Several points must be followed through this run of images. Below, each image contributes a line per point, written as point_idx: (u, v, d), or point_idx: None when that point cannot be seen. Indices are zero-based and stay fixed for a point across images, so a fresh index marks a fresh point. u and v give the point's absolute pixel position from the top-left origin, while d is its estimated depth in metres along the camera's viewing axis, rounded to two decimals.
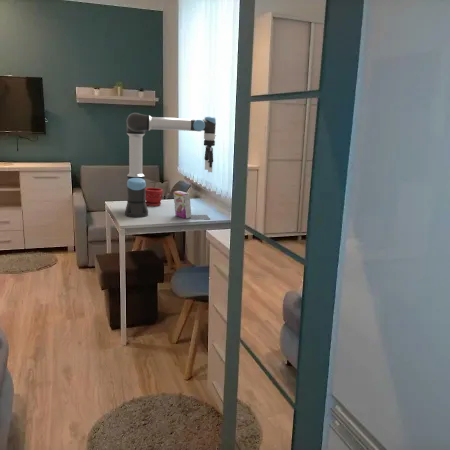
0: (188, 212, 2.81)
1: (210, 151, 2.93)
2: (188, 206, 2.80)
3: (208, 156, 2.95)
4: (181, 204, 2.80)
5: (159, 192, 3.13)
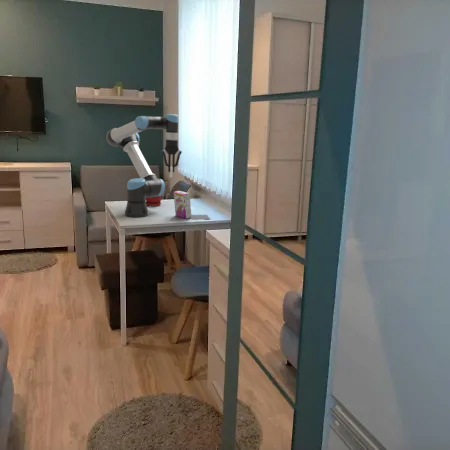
0: (188, 212, 2.81)
1: (163, 154, 2.74)
2: (188, 206, 2.80)
3: None
4: (182, 204, 2.80)
5: None
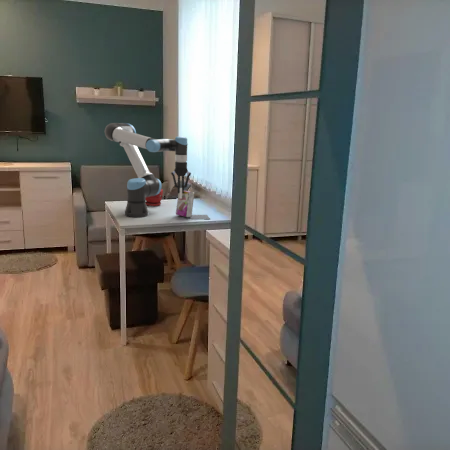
0: (189, 211, 2.82)
1: None
2: (190, 205, 2.82)
3: None
4: (184, 202, 2.82)
5: None
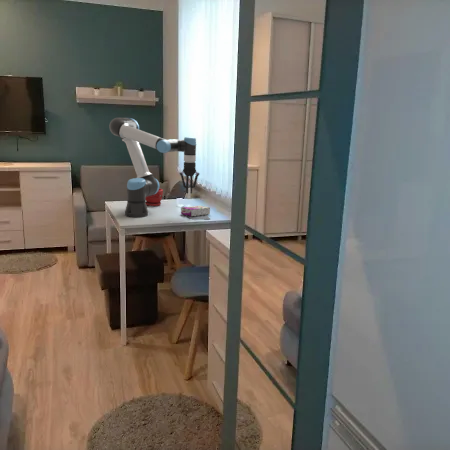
0: (195, 212, 2.87)
1: (181, 176, 2.80)
2: (200, 212, 2.90)
3: None
4: (199, 207, 2.92)
5: (159, 192, 3.13)
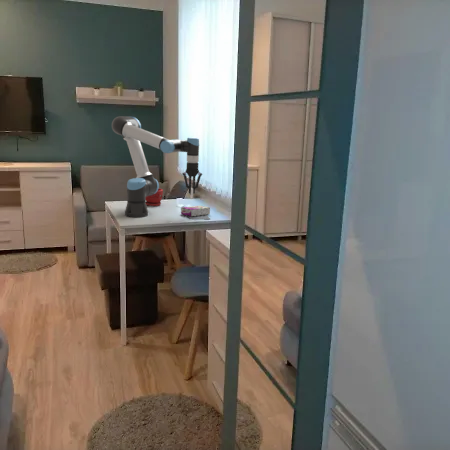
0: (195, 212, 2.87)
1: (184, 176, 2.80)
2: (200, 212, 2.90)
3: None
4: (199, 207, 2.92)
5: (159, 192, 3.13)
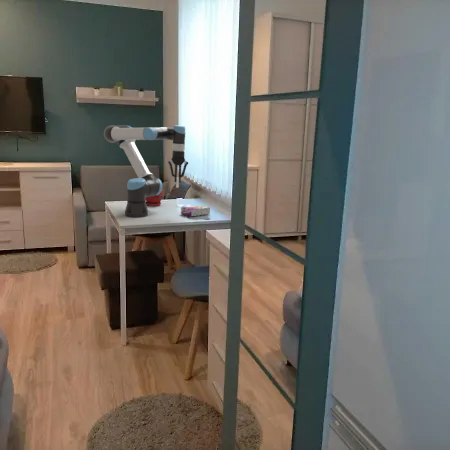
0: (195, 212, 2.87)
1: None
2: (200, 212, 2.90)
3: None
4: (199, 207, 2.92)
5: None
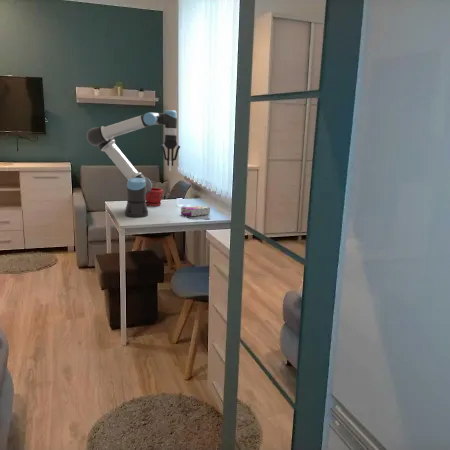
0: (195, 212, 2.87)
1: None
2: (200, 212, 2.90)
3: None
4: (199, 207, 2.92)
5: (159, 192, 3.13)
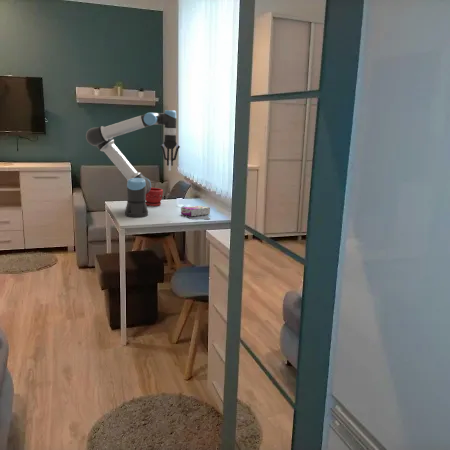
0: (195, 212, 2.87)
1: (162, 149, 2.88)
2: (200, 212, 2.90)
3: None
4: (199, 207, 2.92)
5: (159, 192, 3.13)
